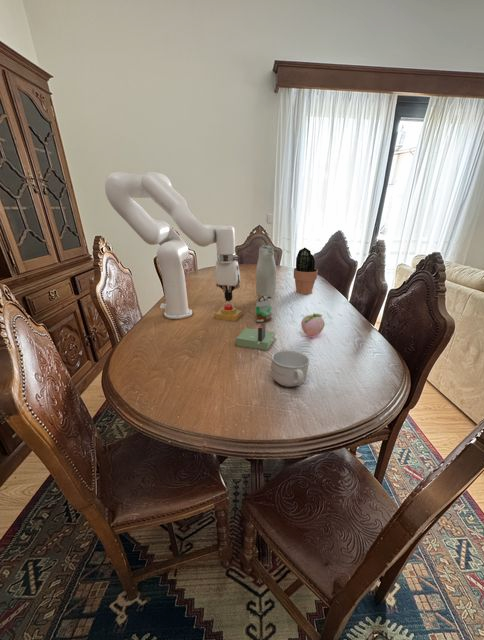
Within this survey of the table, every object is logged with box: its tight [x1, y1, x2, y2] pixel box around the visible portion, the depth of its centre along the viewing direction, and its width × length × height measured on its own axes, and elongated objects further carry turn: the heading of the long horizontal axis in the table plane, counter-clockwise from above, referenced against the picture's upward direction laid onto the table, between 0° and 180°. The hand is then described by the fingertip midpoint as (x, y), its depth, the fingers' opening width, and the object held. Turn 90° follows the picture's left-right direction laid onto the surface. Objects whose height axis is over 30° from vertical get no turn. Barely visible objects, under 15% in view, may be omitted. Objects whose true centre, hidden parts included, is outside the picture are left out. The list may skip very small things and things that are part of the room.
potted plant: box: [293, 247, 319, 295], centre depth 162 cm, size 14×14×25 cm
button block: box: [214, 305, 243, 322], centre depth 130 cm, size 10×8×4 cm
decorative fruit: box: [300, 313, 326, 337], centre depth 111 cm, size 9×8×10 cm
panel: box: [235, 327, 276, 351], centre depth 106 cm, size 13×12×3 cm
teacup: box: [270, 349, 310, 388], centre depth 82 cm, size 14×11×8 cm
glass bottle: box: [255, 244, 277, 300], centre depth 146 cm, size 10×10×28 cm
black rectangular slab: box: [257, 323, 266, 342], centre depth 102 cm, size 4×1×5 cm, turn 163°
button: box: [223, 303, 233, 310], centre depth 129 cm, size 4×4×2 cm
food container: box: [255, 294, 274, 324], centre depth 126 cm, size 12×6×10 cm, turn 168°
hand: (228, 300), depth 127 cm, fingers closed
